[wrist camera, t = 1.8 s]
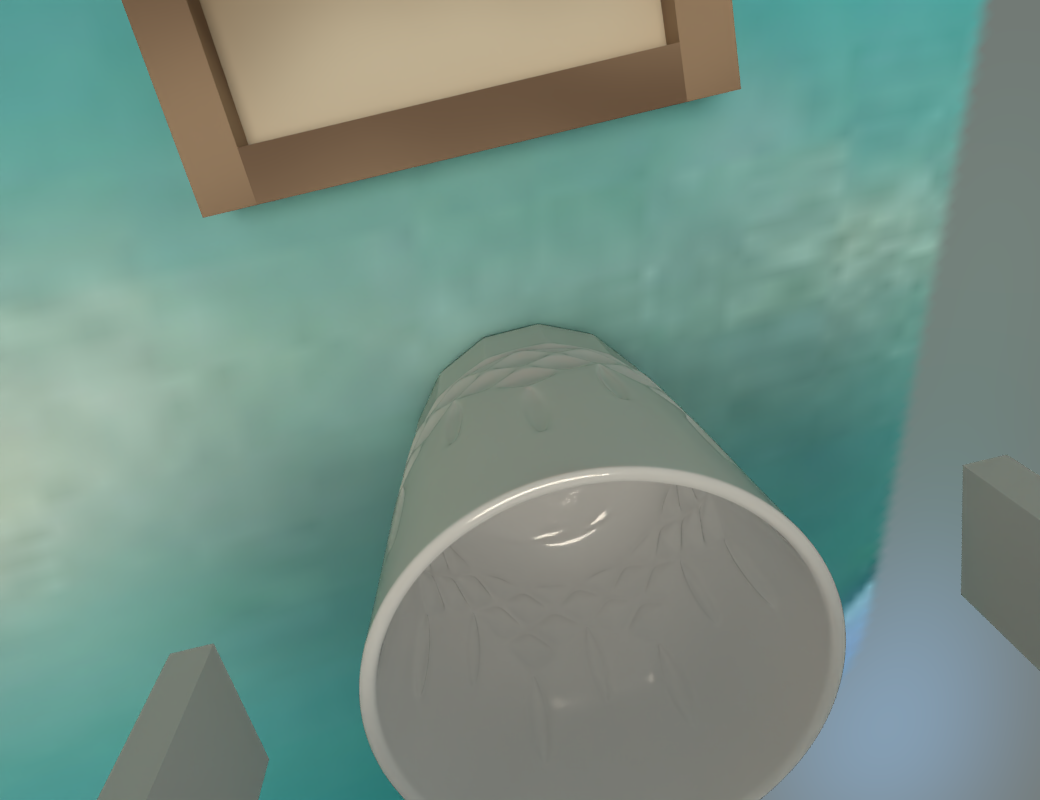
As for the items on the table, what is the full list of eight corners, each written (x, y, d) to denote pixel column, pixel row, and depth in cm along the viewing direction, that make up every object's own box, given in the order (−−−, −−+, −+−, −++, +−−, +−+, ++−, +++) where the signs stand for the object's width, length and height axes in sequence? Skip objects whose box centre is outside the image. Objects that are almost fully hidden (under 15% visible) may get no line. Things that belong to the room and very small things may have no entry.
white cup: (729, 409, 22) (944, 634, 12) (557, 600, 23) (631, 922, 14) (513, 241, 19) (577, 362, 10) (341, 467, 21) (259, 747, 12)
